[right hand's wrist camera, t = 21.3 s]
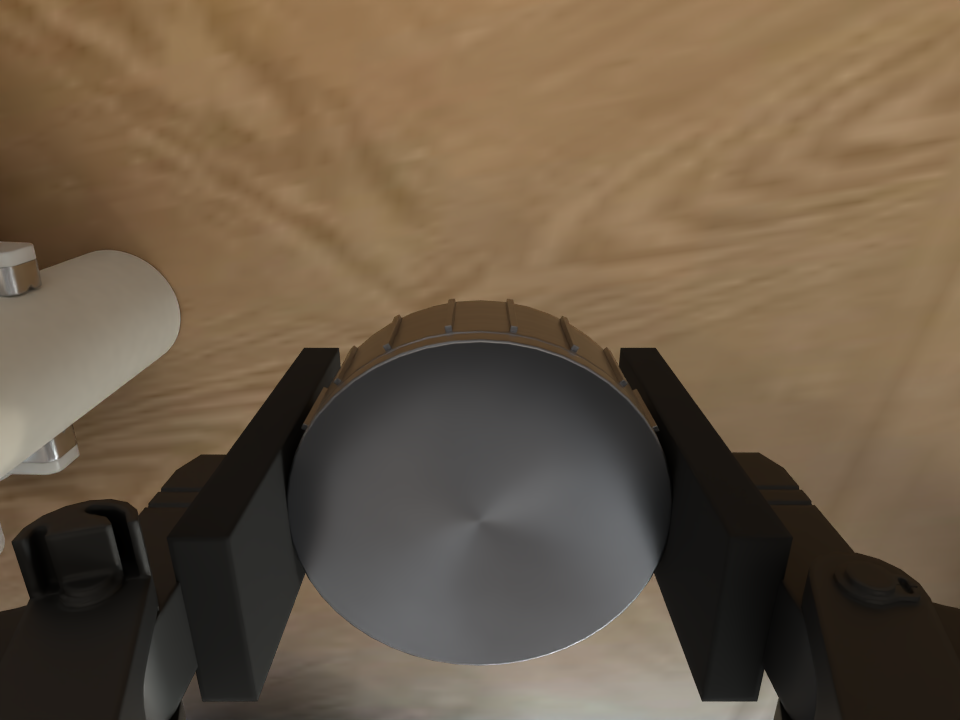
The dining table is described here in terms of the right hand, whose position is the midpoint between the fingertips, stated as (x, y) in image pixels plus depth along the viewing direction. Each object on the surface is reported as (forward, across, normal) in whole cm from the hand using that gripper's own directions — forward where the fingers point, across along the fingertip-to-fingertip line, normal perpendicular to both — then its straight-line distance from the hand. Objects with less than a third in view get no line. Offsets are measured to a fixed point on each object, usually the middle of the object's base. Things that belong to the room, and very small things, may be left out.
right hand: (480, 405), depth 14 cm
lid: (-4, 0, 0) cm, 4 cm away
